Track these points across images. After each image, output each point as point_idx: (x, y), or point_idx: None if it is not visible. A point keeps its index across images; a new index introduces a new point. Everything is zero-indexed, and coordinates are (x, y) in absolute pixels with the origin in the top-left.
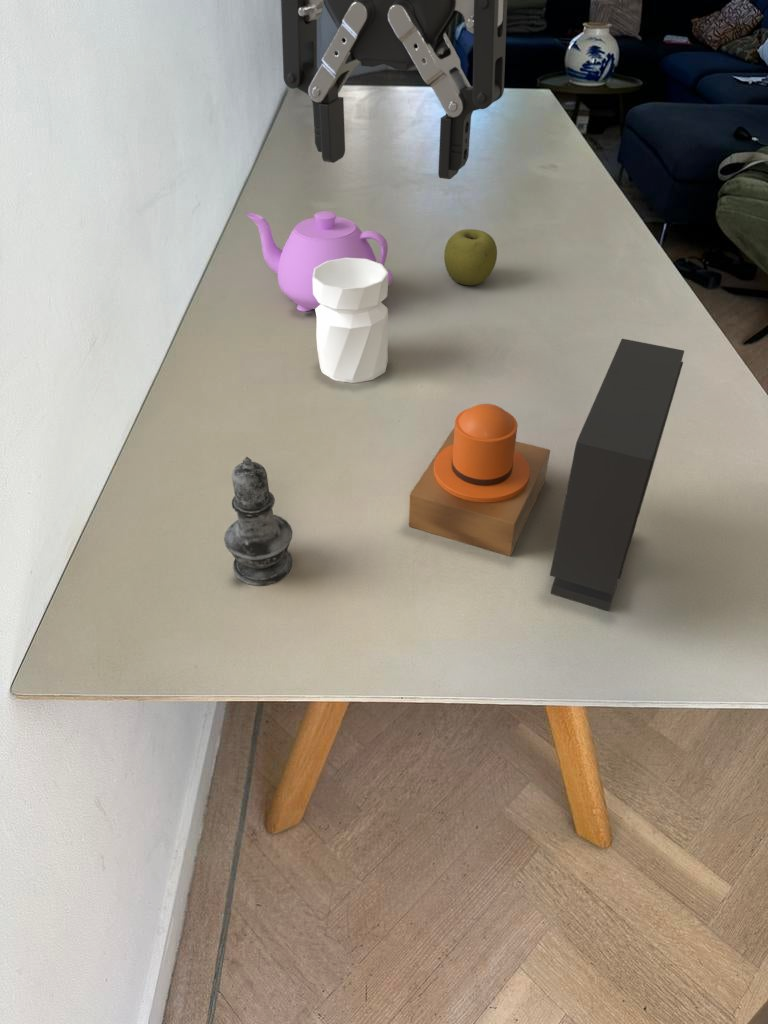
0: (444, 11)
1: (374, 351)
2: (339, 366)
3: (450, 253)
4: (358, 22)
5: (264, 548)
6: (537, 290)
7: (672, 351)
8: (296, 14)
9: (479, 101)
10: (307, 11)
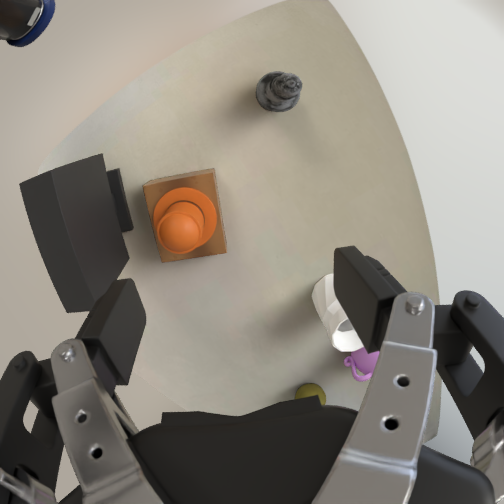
0: None
1: (319, 298)
2: None
3: (320, 394)
4: (340, 500)
5: (265, 81)
6: (267, 397)
7: (69, 308)
8: None
9: (21, 356)
10: None
